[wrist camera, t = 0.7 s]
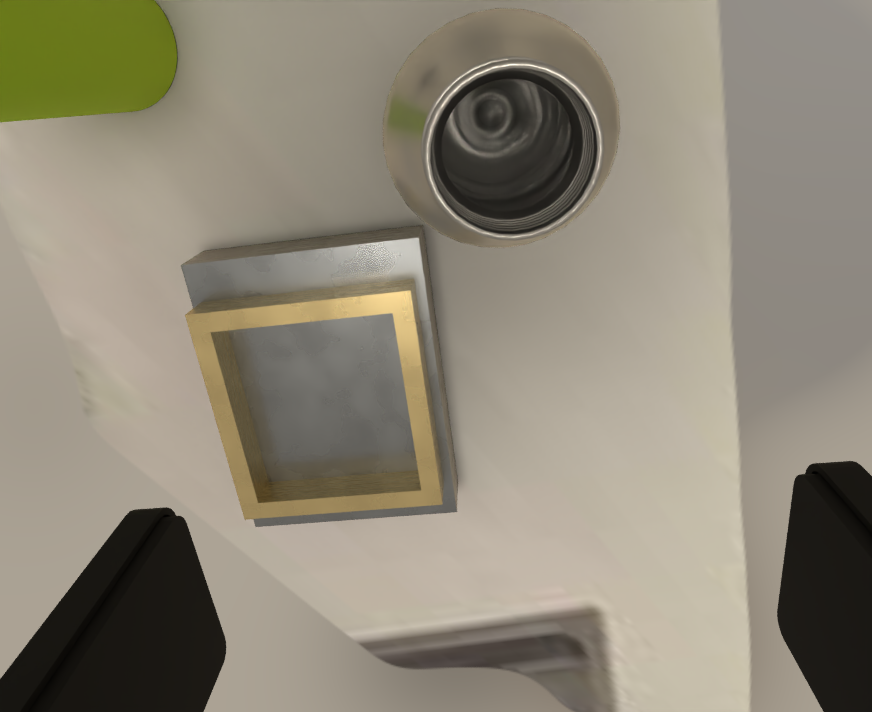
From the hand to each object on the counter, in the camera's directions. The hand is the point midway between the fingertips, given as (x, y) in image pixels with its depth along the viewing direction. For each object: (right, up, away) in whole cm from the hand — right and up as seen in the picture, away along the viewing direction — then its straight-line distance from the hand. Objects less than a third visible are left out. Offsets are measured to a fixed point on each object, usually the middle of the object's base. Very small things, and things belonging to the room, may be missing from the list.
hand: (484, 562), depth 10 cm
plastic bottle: (+2, +15, +22) cm, 26 cm away
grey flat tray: (-6, +2, +27) cm, 28 cm away
